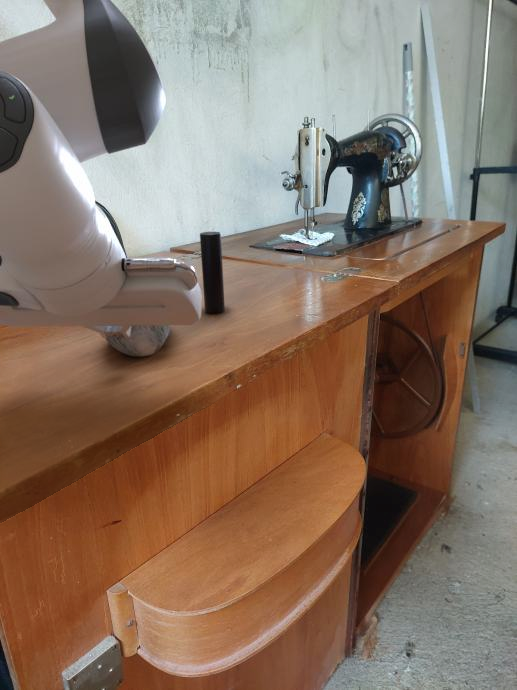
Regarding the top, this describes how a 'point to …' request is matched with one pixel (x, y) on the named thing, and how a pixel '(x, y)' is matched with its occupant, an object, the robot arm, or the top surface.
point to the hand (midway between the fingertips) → (117, 331)
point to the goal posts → (212, 272)
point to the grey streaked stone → (141, 340)
